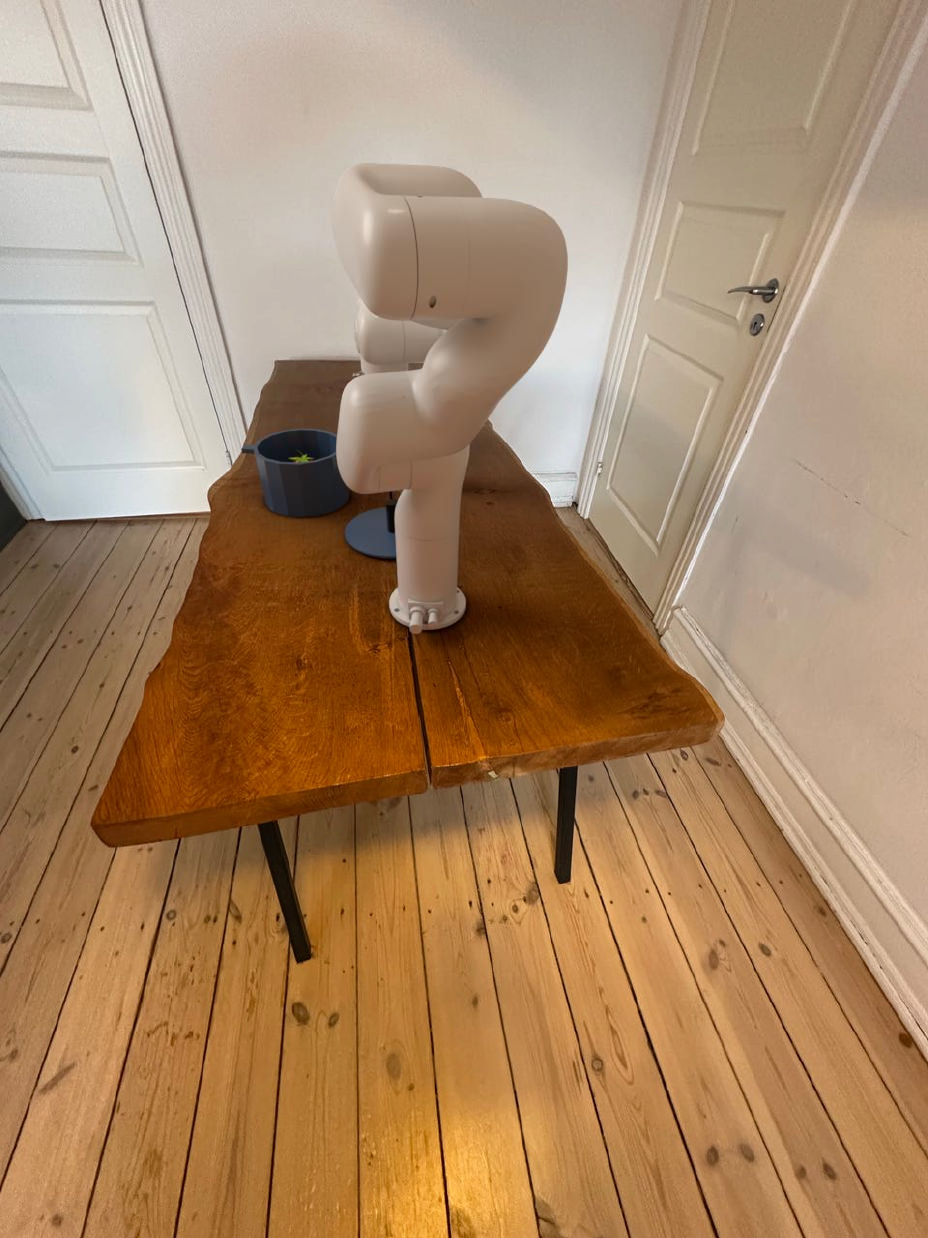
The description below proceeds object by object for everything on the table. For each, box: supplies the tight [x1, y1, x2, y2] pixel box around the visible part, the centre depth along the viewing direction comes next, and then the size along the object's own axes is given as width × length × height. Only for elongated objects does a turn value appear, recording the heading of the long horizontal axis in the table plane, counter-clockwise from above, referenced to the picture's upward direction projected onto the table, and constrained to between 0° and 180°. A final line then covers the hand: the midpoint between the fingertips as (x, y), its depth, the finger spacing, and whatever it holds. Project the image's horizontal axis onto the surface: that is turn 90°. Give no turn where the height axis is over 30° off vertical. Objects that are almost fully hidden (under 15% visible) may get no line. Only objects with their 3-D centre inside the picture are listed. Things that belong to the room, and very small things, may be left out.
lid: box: [344, 498, 398, 559], centre depth 105 cm, size 19×19×7 cm
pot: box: [241, 428, 351, 518], centre depth 114 cm, size 18×23×12 cm
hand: (390, 478), depth 100 cm, fingers open, 9 cm apart
